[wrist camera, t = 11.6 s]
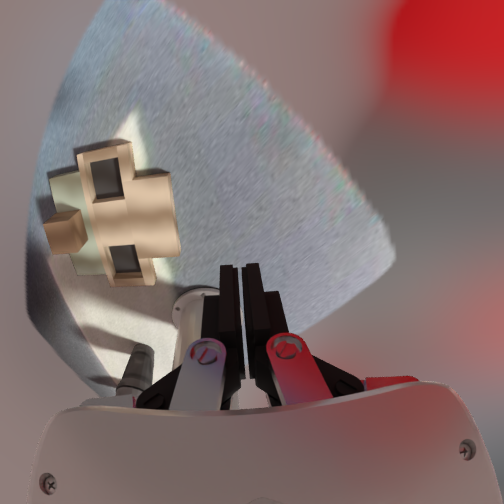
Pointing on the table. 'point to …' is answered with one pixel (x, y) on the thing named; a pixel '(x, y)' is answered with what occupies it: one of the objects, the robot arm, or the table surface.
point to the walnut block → (66, 232)
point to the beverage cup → (137, 372)
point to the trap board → (119, 216)
